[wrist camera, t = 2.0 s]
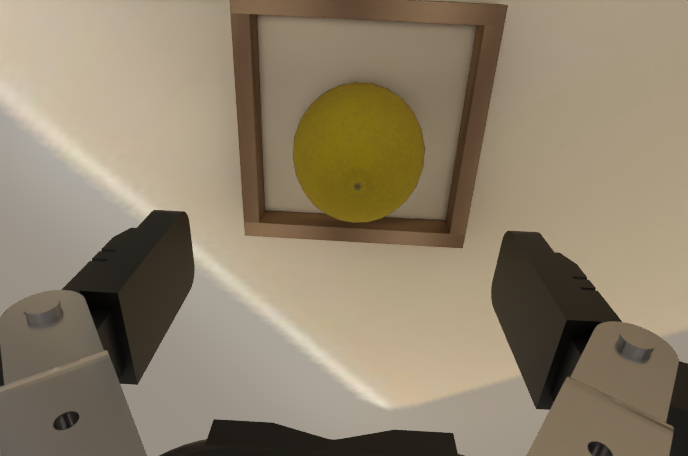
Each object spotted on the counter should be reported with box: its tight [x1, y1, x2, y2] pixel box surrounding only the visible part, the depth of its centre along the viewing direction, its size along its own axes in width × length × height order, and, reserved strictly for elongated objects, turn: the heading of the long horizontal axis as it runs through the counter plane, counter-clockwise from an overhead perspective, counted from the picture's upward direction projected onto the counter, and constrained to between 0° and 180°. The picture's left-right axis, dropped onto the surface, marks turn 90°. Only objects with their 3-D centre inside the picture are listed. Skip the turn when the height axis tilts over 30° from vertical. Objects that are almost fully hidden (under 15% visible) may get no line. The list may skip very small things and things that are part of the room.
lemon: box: [293, 83, 425, 223], centre depth 20 cm, size 6×6×8 cm
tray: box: [230, 0, 508, 248], centre depth 23 cm, size 12×12×2 cm
